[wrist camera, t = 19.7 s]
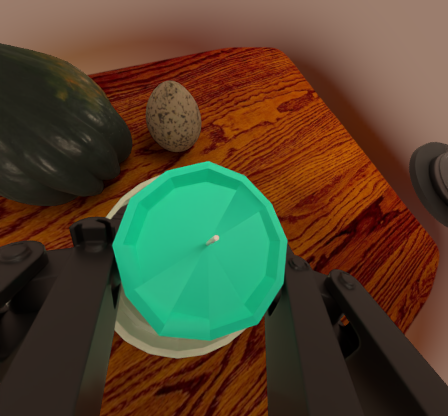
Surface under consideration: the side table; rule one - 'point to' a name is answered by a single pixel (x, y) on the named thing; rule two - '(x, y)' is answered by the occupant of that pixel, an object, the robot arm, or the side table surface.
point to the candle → (200, 252)
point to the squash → (55, 130)
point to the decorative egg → (173, 117)
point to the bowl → (142, 331)
